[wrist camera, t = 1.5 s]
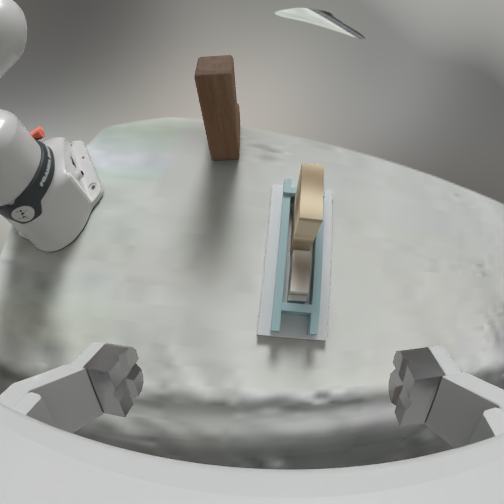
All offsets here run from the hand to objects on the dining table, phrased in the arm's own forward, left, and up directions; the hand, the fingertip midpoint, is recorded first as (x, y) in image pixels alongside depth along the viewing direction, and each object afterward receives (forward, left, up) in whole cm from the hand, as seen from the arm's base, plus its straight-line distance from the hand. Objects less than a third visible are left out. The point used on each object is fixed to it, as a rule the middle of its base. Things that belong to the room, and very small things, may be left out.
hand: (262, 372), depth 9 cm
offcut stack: (-8, +9, -31) cm, 33 cm away
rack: (-11, +10, -32) cm, 36 cm away
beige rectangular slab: (-14, +12, -31) cm, 36 cm away
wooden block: (-34, +8, -32) cm, 48 cm away
